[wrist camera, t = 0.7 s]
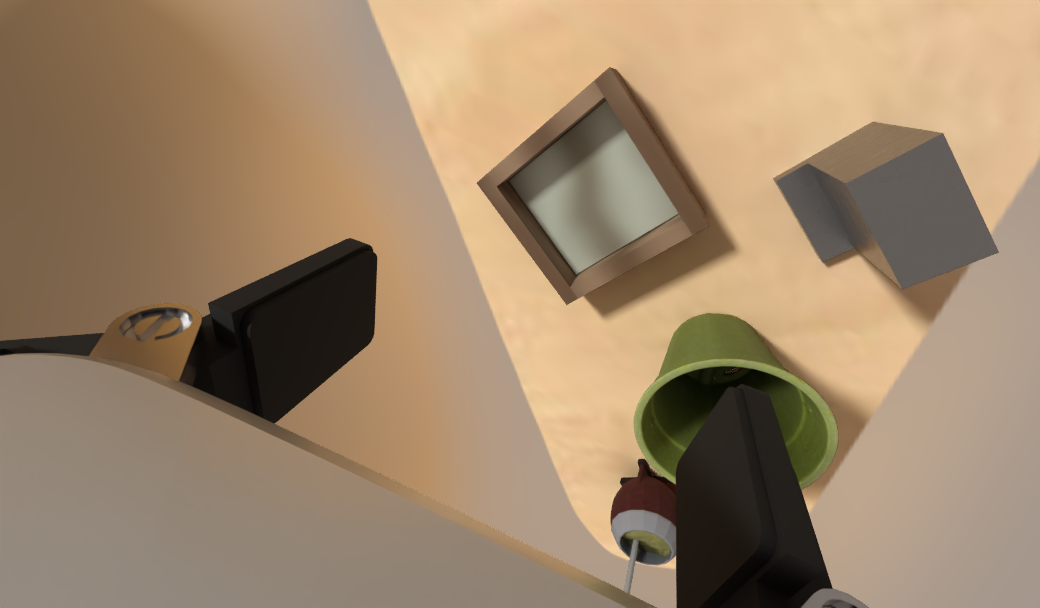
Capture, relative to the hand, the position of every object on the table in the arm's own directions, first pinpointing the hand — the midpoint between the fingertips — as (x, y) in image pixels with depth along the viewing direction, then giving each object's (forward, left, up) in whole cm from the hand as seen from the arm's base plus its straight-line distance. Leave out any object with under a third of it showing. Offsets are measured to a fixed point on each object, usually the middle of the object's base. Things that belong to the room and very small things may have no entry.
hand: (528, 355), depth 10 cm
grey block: (-12, +10, -26) cm, 30 cm away
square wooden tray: (+3, 0, -26) cm, 26 cm away
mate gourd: (+16, +30, -26) cm, 42 cm away
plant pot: (+2, +17, -26) cm, 31 cm away
